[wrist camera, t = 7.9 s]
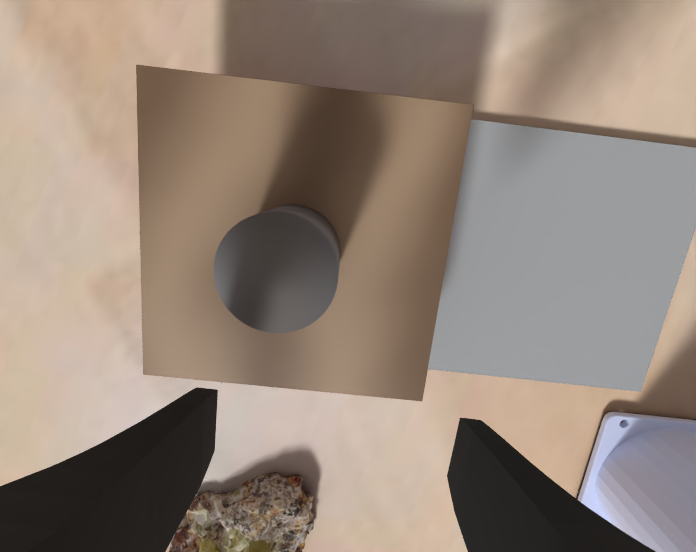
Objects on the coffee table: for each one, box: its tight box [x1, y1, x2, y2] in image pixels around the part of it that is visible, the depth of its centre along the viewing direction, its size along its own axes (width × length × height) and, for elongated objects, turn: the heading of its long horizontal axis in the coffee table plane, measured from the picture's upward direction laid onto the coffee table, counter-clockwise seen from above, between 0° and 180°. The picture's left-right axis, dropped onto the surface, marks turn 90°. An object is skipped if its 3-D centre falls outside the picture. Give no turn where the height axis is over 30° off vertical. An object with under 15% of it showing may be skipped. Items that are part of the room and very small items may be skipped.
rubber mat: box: [428, 119, 696, 392], centre depth 20 cm, size 13×13×1 cm
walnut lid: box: [136, 65, 474, 401], centre depth 13 cm, size 12×12×5 cm
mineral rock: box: [169, 473, 314, 552], centre depth 23 cm, size 11×4×8 cm
